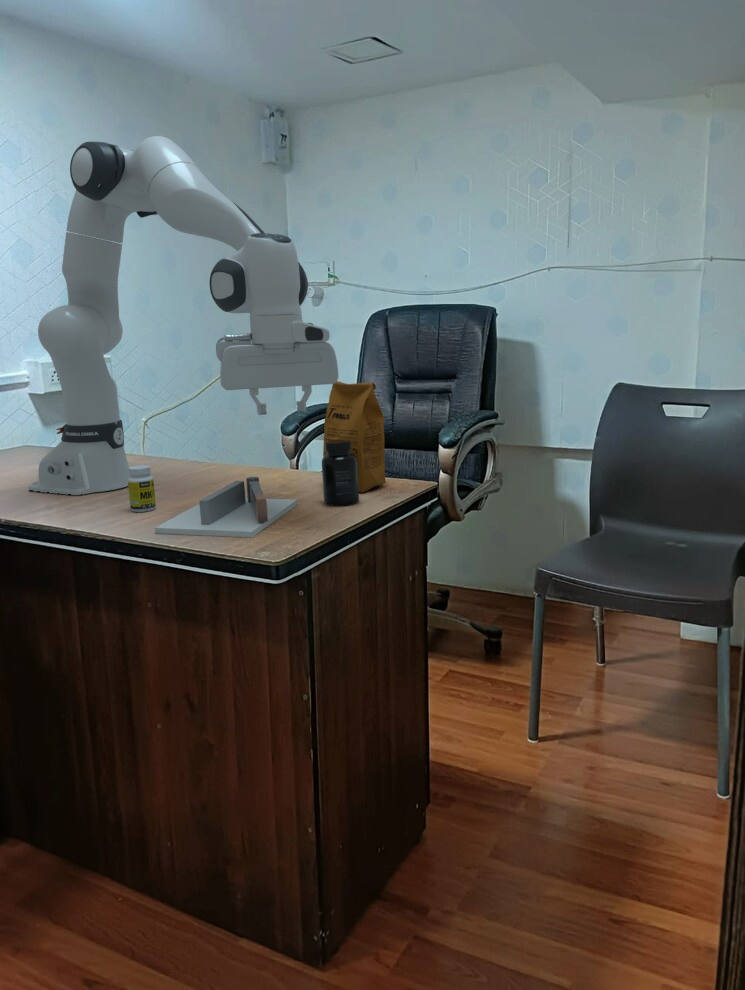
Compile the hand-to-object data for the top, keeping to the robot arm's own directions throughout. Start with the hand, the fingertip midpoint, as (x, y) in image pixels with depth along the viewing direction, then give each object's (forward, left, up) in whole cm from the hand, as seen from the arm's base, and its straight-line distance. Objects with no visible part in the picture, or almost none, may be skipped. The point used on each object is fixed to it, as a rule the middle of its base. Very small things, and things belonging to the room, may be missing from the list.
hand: (281, 413), depth 140 cm
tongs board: (-11, -1, -19) cm, 22 cm away
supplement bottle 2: (+6, +13, -19) cm, 24 cm away
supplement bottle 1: (-31, +3, -19) cm, 37 cm away
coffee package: (+5, +26, -19) cm, 33 cm away
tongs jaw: (-6, 0, -18) cm, 19 cm away
